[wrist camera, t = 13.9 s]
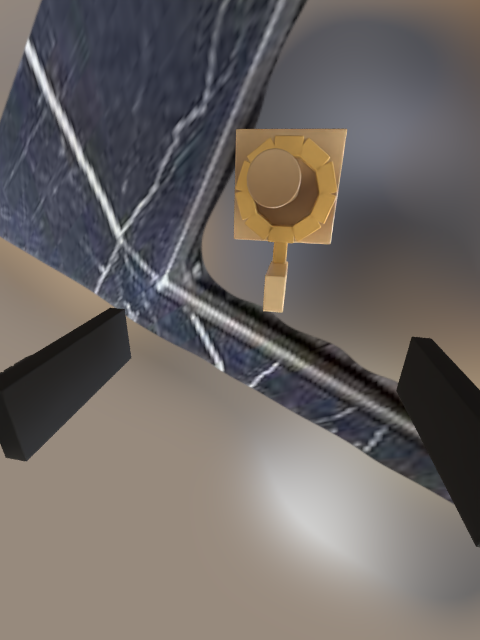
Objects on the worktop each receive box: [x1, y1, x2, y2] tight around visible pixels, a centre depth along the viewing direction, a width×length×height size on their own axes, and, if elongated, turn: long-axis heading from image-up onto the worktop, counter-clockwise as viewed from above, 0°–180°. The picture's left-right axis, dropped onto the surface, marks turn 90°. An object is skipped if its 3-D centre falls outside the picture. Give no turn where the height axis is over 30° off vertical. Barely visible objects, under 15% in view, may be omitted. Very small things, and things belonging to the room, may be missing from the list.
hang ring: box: [235, 136, 337, 312], centre depth 24 cm, size 13×8×6 cm, turn 179°
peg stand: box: [234, 129, 347, 244], centre depth 20 cm, size 9×9×16 cm
